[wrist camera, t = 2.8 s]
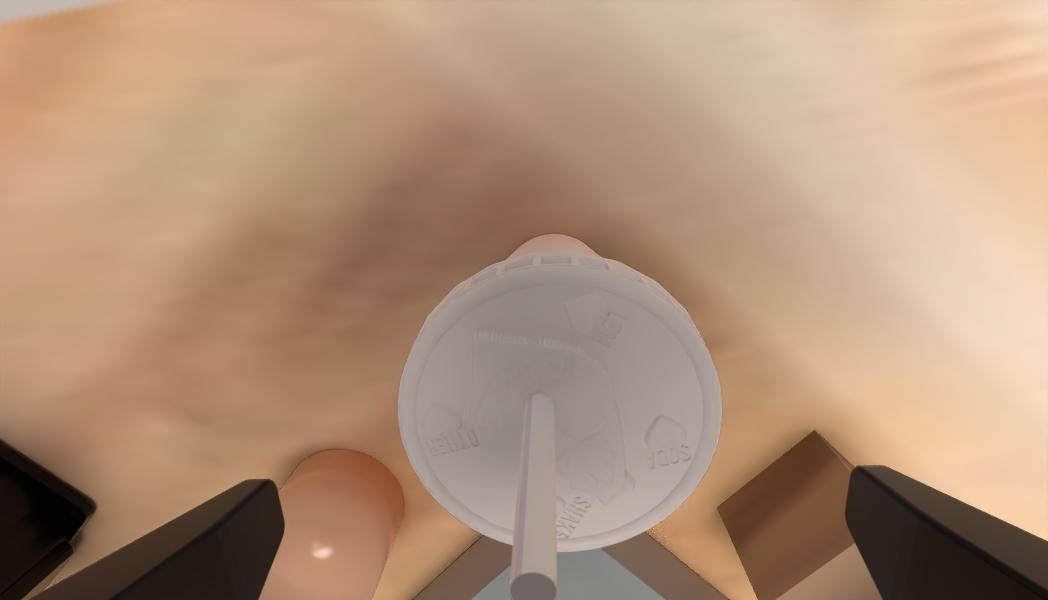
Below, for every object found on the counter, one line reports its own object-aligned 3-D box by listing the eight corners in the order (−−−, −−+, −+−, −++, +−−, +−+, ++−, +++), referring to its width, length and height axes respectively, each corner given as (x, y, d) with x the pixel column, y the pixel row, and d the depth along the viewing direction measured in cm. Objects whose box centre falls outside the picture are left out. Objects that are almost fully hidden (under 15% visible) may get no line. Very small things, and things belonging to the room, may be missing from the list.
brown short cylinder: (266, 500, 23) (211, 574, 19) (333, 426, 22) (287, 489, 18) (359, 565, 24) (323, 647, 20) (428, 497, 23) (404, 572, 19)
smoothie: (567, 155, 18) (621, 235, 5) (678, 296, 19) (959, 664, 6) (430, 272, 20) (176, 580, 6) (541, 395, 21) (527, 865, 8)
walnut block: (716, 506, 22) (761, 609, 17) (813, 429, 21) (891, 517, 16) (796, 573, 23) (859, 688, 18) (893, 503, 22) (989, 607, 17)
